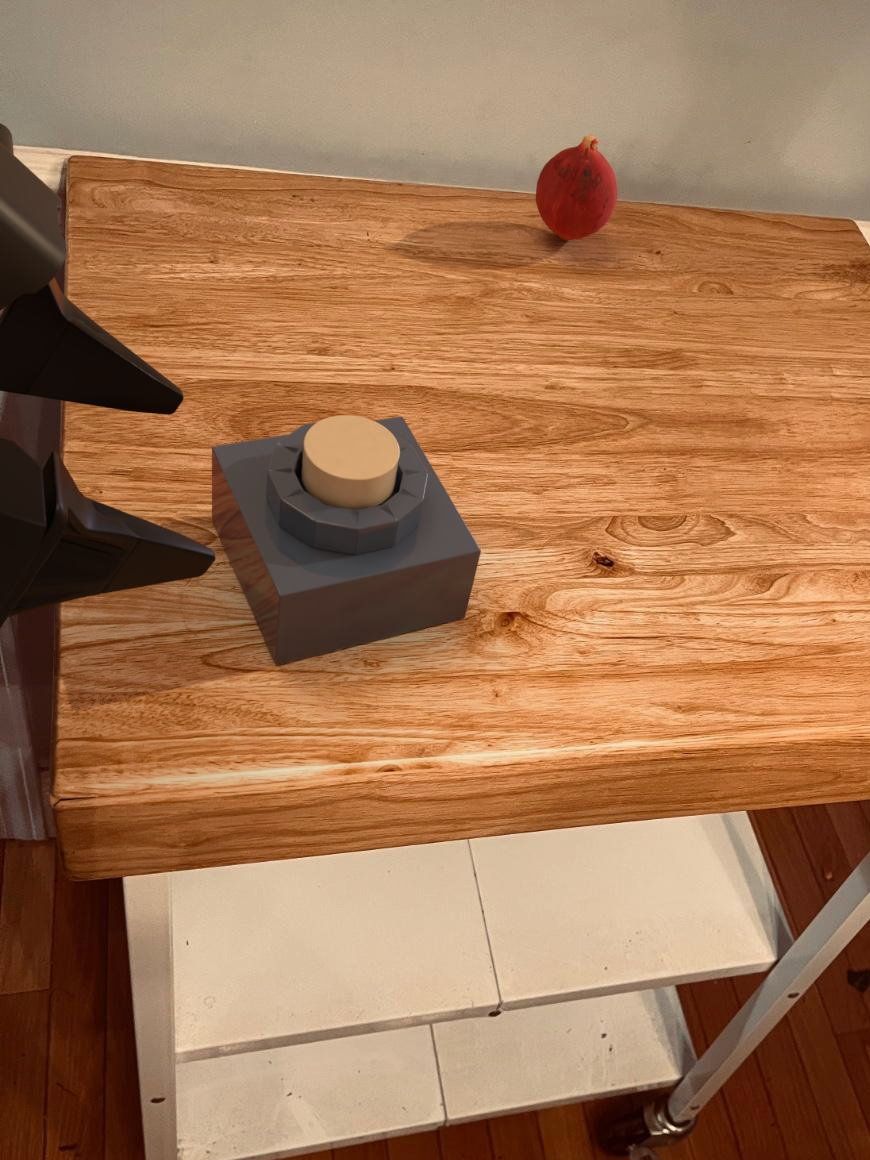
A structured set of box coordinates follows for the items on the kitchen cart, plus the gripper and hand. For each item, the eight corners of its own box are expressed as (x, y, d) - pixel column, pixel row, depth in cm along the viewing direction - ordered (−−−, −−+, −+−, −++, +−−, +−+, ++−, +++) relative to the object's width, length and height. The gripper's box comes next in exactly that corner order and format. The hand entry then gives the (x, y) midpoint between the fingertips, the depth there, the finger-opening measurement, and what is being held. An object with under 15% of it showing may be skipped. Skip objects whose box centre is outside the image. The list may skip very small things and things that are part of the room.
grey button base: (275, 666, 57) (281, 569, 51) (211, 520, 62) (211, 417, 56) (465, 618, 61) (488, 524, 56) (391, 486, 66) (406, 389, 61)
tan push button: (320, 518, 54) (323, 487, 53) (288, 454, 57) (290, 422, 55) (409, 501, 57) (414, 470, 55) (374, 439, 59) (379, 408, 57)
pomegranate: (602, 270, 86) (631, 169, 80) (524, 252, 85) (547, 148, 79) (604, 227, 89) (631, 127, 84) (529, 209, 88) (551, 107, 83)
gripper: (-236, 276, 26) (363, 498, 36) (-181, -58, 37) (263, 185, 47) (-388, 609, 30) (183, 719, 41) (-298, 222, 42) (131, 387, 52)
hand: (193, 478), depth 45 cm, fingers open, 9 cm apart
